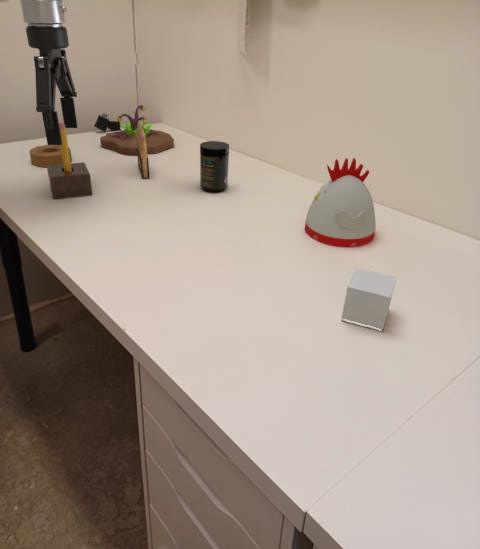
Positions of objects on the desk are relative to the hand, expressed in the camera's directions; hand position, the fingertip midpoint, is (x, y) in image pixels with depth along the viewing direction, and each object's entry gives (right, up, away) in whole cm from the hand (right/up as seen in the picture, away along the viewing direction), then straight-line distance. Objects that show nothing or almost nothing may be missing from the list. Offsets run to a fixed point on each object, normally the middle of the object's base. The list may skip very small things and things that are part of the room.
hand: (63, 135), depth 103 cm
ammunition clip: (+13, -4, +20) cm, 24 cm away
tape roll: (-12, 0, +24) cm, 27 cm away
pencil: (-1, -11, +6) cm, 13 cm away
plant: (+8, +9, +40) cm, 42 cm away
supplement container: (+32, -9, +11) cm, 35 cm away
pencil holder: (-1, -11, +6) cm, 13 cm away
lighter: (-5, +17, +52) cm, 55 cm away
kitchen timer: (+58, -21, -6) cm, 62 cm away
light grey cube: (+57, -36, -31) cm, 75 cm away
